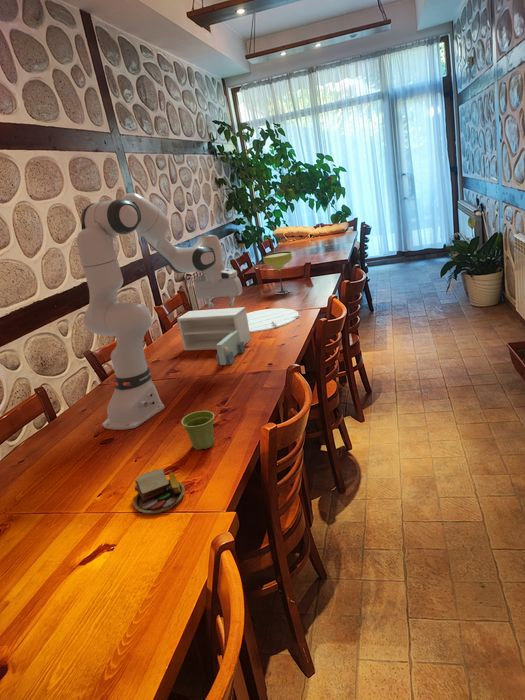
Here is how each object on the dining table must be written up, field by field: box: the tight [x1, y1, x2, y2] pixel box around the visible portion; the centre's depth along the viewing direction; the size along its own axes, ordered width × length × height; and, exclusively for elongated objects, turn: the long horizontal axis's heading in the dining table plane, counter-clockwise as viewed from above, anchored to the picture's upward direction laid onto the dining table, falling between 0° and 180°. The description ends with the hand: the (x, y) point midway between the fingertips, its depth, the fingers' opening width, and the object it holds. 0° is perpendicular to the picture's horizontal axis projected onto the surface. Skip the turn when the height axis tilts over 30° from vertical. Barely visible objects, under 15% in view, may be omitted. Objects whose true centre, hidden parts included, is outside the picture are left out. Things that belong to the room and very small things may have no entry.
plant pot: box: [180, 410, 215, 451], centre depth 135 cm, size 9×9×9 cm
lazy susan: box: [246, 307, 301, 333], centre depth 251 cm, size 40×39×3 cm
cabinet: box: [176, 306, 252, 351], centre depth 221 cm, size 12×30×16 cm, turn 69°
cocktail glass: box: [262, 251, 293, 293], centre depth 302 cm, size 18×18×25 cm
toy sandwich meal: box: [133, 468, 186, 515], centre depth 115 cm, size 12×14×5 cm
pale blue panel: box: [216, 330, 241, 366], centre depth 201 cm, size 18×4×9 cm, turn 159°
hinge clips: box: [215, 342, 246, 366], centre depth 202 cm, size 16×6×4 cm, turn 159°
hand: (221, 306), depth 196 cm, fingers open, 8 cm apart
